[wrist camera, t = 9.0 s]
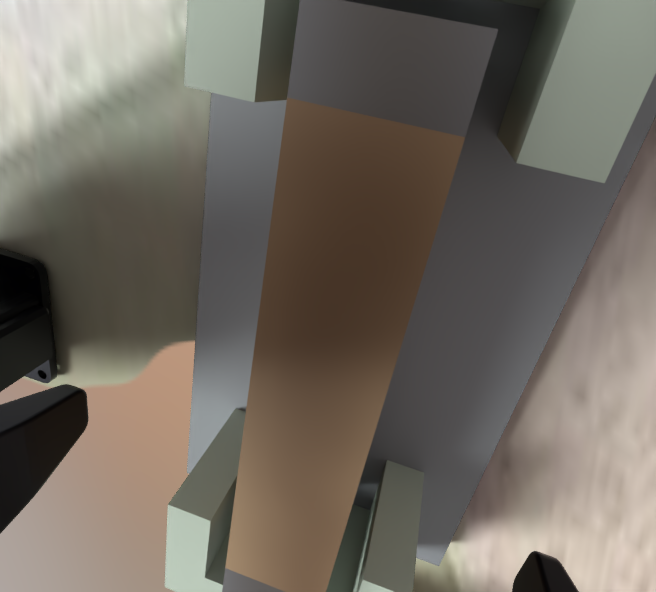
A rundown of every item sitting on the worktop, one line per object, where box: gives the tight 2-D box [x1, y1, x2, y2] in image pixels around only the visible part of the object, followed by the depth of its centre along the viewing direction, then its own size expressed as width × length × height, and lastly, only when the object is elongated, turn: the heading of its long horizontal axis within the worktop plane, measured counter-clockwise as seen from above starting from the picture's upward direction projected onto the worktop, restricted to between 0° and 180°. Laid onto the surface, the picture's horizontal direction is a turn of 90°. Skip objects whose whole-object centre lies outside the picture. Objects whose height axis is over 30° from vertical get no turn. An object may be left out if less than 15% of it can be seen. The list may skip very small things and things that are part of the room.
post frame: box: [165, 0, 656, 592], centre depth 14 cm, size 12×22×6 cm, turn 169°
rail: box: [222, 0, 498, 592], centre depth 13 cm, size 3×16×6 cm, turn 169°
